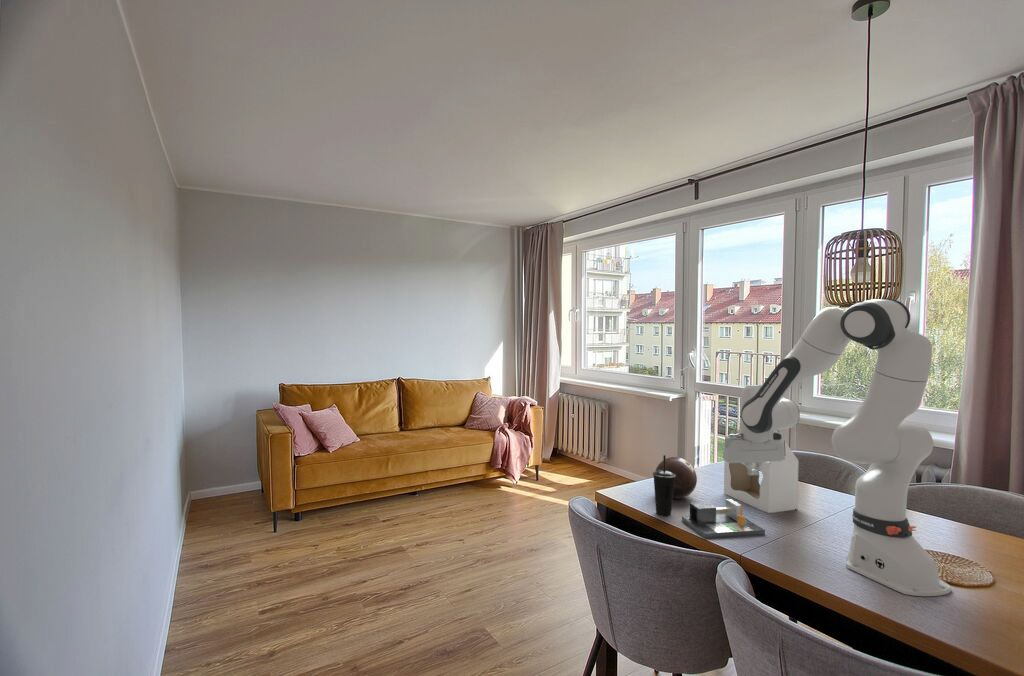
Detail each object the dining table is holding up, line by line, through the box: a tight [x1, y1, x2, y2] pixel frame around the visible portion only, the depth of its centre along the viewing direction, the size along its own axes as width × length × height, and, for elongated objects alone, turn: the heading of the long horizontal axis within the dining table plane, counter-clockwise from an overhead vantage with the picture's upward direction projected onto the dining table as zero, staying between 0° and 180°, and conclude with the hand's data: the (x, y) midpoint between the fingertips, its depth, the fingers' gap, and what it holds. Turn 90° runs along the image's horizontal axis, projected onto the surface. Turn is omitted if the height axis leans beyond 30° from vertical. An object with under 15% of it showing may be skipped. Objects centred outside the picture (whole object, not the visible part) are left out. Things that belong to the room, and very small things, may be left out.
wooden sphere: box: [655, 456, 698, 500], centre depth 188 cm, size 15×15×15 cm
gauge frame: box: [681, 501, 766, 540], centre depth 160 cm, size 14×20×6 cm
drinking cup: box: [652, 454, 676, 517], centre depth 171 cm, size 8×8×20 cm
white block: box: [716, 498, 747, 523], centre depth 162 cm, size 9×10×5 cm
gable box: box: [723, 428, 799, 514], centre depth 185 cm, size 22×13×28 cm, turn 18°
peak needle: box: [737, 504, 746, 525], centre depth 158 cm, size 2×1×6 cm, turn 9°
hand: (752, 474), depth 165 cm, fingers closed
